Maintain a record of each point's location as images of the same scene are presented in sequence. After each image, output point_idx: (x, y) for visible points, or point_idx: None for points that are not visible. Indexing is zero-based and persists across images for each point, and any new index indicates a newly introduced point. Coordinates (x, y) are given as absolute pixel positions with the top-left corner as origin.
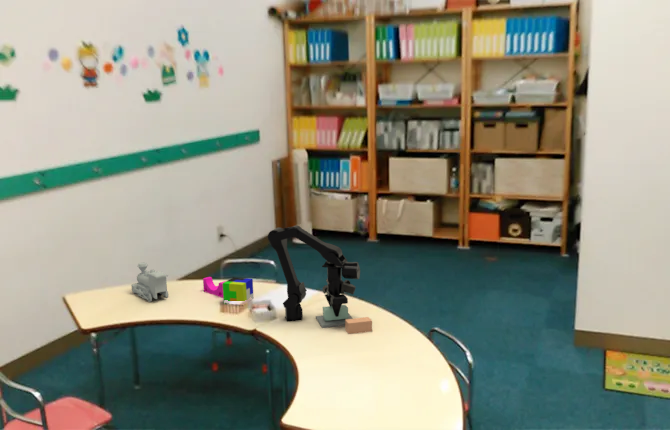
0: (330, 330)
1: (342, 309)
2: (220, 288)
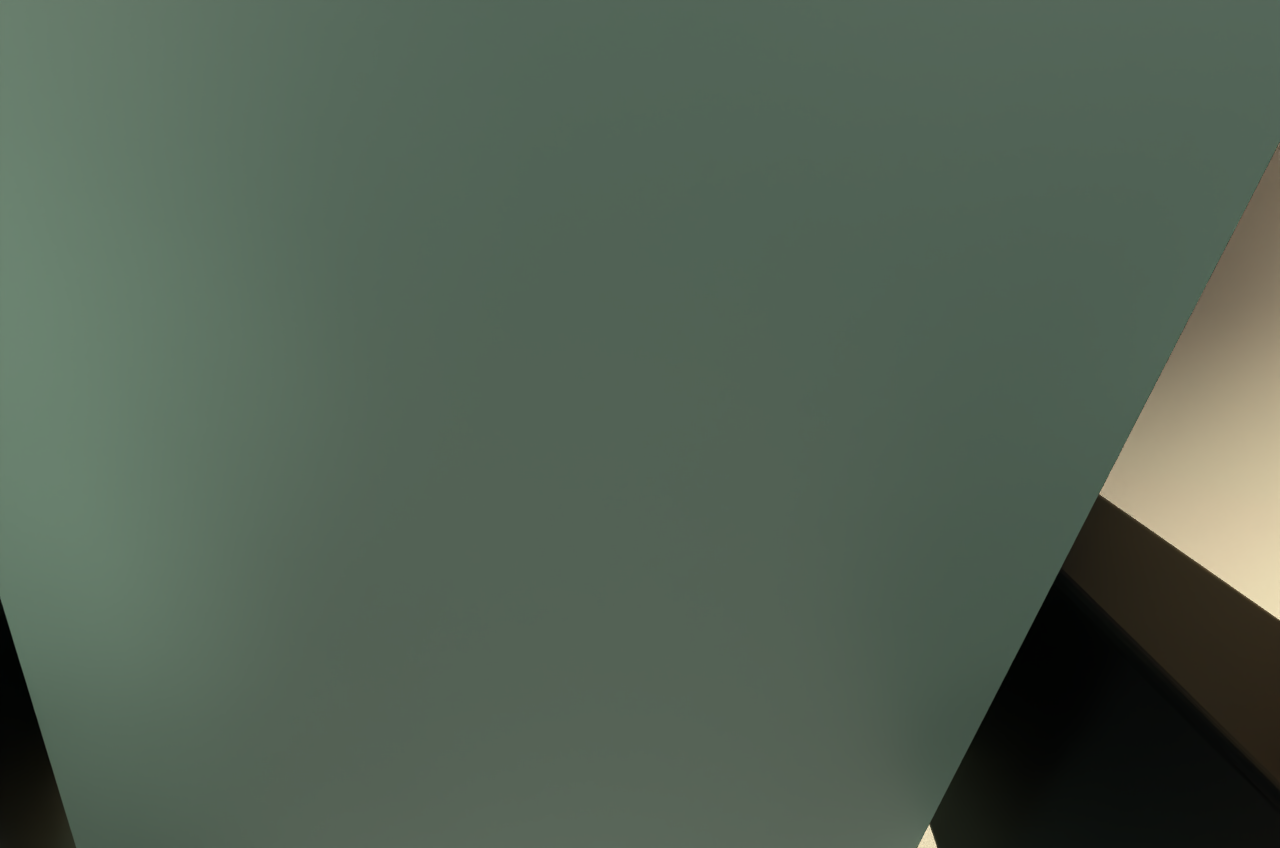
0: (1202, 526)
1: (1092, 348)
2: None
